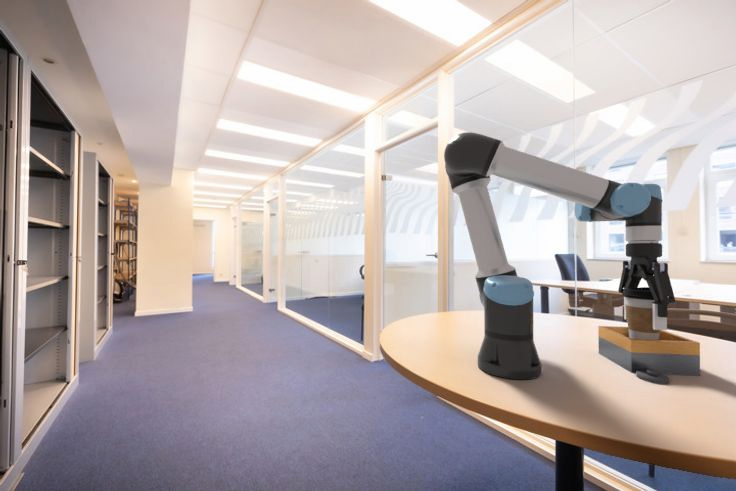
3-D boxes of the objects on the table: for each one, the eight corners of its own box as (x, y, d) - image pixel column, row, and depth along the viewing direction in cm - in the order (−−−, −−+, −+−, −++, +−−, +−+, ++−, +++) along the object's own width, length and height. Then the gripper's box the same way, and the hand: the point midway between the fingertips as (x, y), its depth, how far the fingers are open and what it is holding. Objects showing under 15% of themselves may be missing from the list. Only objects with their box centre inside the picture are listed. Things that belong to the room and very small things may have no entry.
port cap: (647, 384, 75) (646, 374, 75) (630, 374, 81) (630, 365, 81) (676, 386, 74) (676, 376, 74) (657, 375, 80) (657, 366, 80)
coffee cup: (673, 349, 83) (672, 290, 83) (635, 347, 85) (634, 289, 85) (651, 340, 91) (651, 286, 92) (617, 338, 93) (617, 285, 93)
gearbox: (631, 372, 82) (631, 340, 82) (598, 353, 96) (598, 326, 97) (700, 375, 79) (699, 342, 79) (655, 355, 94) (655, 327, 94)
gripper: (695, 241, 76) (696, 336, 76) (630, 242, 99) (631, 315, 99) (659, 241, 77) (660, 335, 77) (603, 243, 100) (604, 315, 100)
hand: (644, 324), depth 88 cm, fingers open, 11 cm apart
